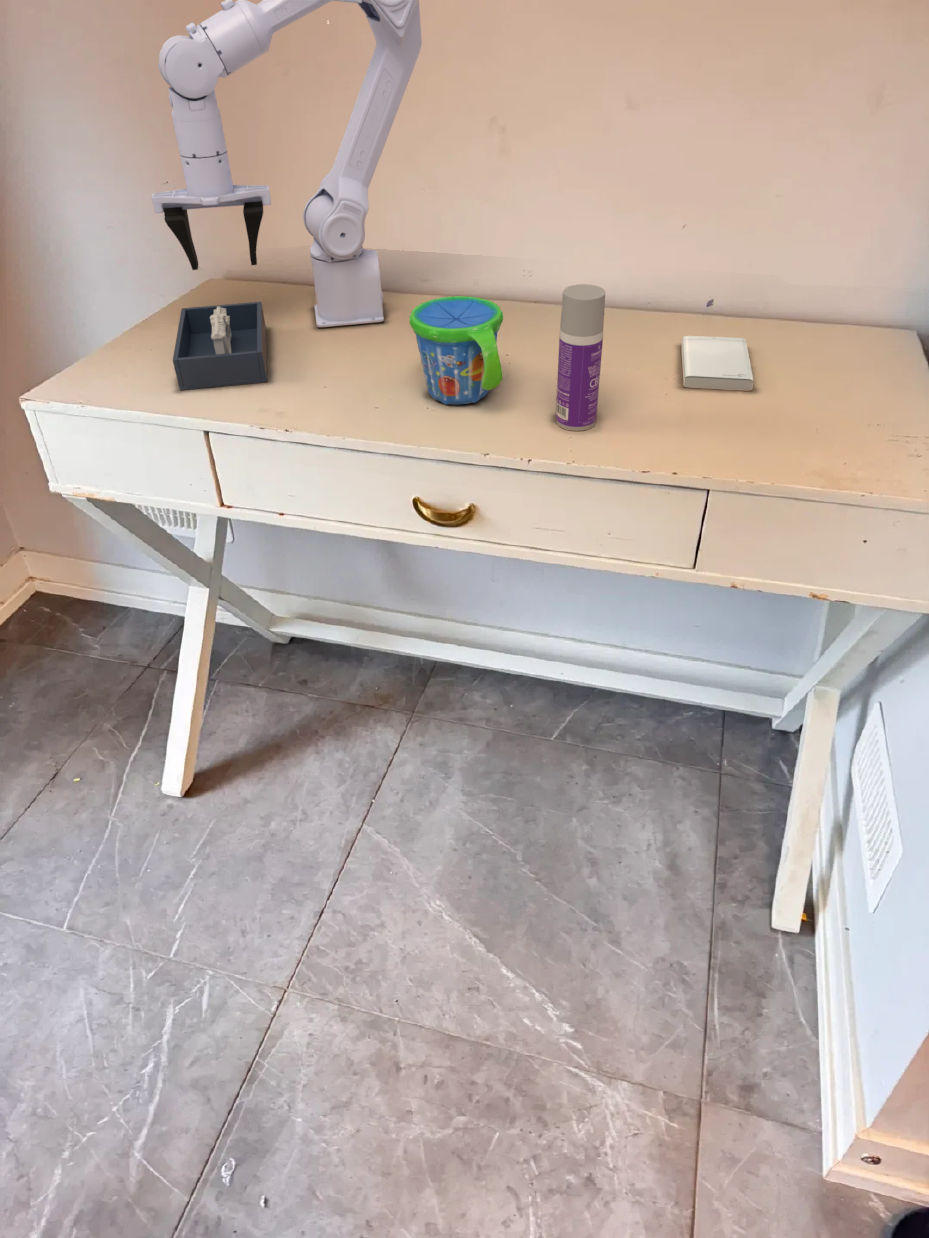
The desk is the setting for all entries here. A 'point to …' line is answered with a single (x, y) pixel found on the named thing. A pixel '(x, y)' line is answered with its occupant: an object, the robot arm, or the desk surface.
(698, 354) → the hard drive
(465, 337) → the snack cup
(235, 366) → the tote
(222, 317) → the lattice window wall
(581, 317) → the container
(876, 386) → the desk surface
